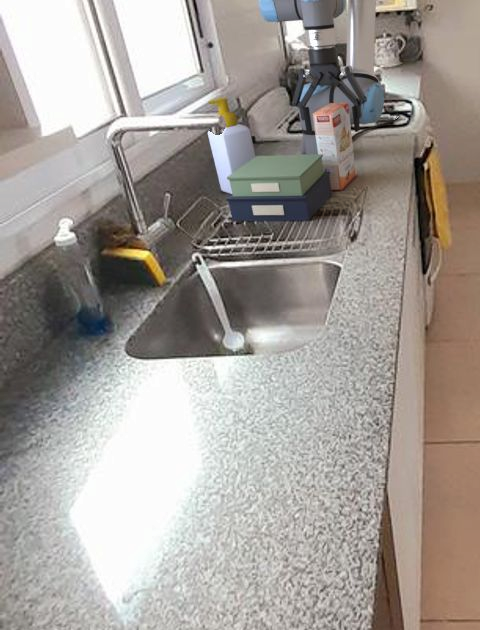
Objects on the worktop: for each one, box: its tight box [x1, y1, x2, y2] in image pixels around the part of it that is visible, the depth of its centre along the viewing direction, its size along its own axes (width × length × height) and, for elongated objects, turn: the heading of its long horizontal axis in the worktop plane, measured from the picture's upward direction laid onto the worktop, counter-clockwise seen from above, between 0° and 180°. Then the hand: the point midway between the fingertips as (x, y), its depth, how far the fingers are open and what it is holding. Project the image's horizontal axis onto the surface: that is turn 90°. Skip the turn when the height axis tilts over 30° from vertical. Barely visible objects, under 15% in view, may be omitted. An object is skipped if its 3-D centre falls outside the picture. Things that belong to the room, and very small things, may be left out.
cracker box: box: [313, 103, 357, 191], centre depth 167 cm, size 14×6×21 cm, turn 168°
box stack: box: [225, 154, 333, 222], centre depth 155 cm, size 21×21×11 cm
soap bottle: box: [207, 97, 256, 195], centre depth 166 cm, size 9×9×25 cm
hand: (333, 131), depth 165 cm, fingers open, 13 cm apart
